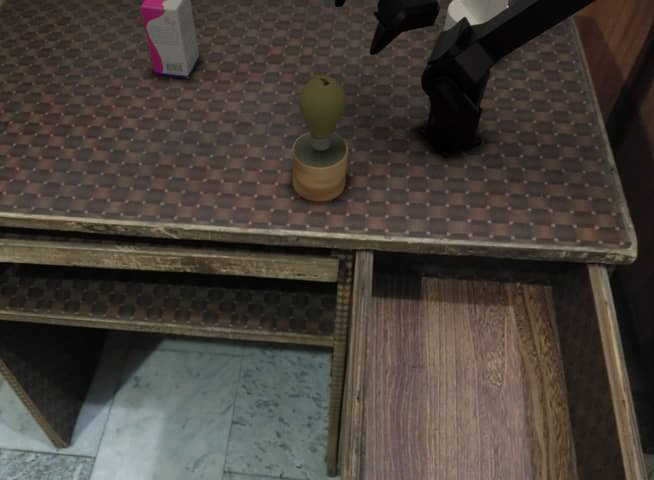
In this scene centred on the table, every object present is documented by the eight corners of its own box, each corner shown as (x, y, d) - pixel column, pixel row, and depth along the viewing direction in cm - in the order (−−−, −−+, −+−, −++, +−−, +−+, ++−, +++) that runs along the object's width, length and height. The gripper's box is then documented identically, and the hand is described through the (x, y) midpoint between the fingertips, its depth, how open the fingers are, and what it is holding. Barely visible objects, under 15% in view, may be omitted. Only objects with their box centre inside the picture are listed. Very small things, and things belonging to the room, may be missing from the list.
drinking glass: (431, 36, 101) (445, -39, 91) (483, 25, 102) (503, -52, 92) (456, 69, 96) (473, -7, 86) (511, 57, 97) (534, -20, 87)
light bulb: (351, 142, 80) (357, 74, 72) (329, 169, 78) (332, 102, 69) (313, 127, 82) (314, 60, 74) (290, 153, 80) (289, 87, 71)
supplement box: (200, 57, 102) (190, -12, 93) (188, 79, 99) (176, 11, 90) (167, 53, 103) (153, -16, 94) (154, 75, 100) (138, 7, 91)
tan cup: (355, 190, 84) (358, 156, 79) (307, 208, 82) (308, 175, 77) (329, 157, 87) (331, 123, 82) (284, 174, 86) (283, 140, 81)
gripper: (293, -139, 68) (268, -9, 82) (379, -30, 61) (336, 93, 75) (379, -146, 72) (341, -20, 85) (469, -44, 65) (412, 75, 78)
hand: (355, 29), depth 81 cm, fingers open, 9 cm apart
